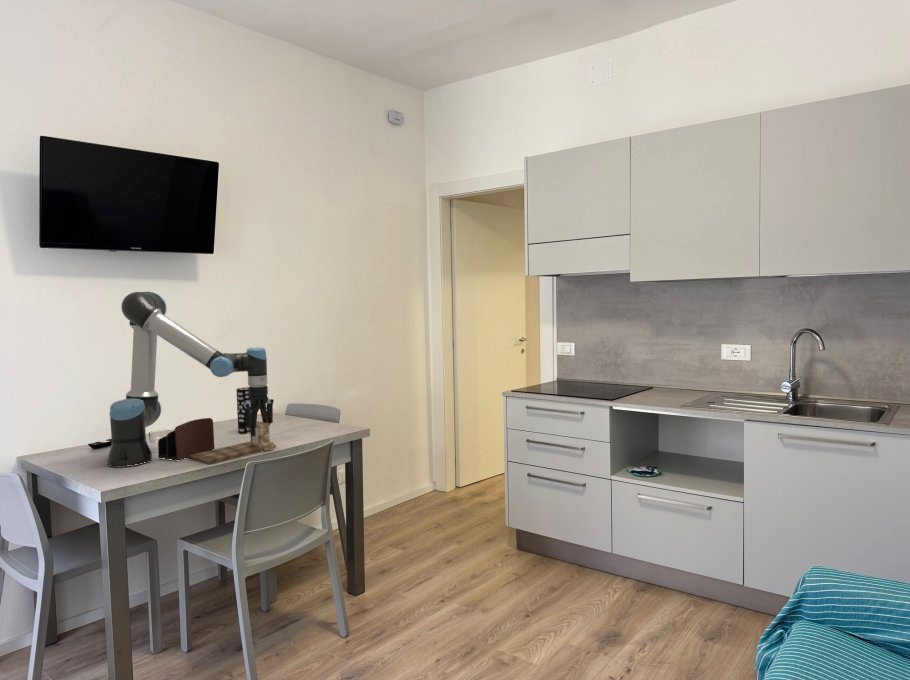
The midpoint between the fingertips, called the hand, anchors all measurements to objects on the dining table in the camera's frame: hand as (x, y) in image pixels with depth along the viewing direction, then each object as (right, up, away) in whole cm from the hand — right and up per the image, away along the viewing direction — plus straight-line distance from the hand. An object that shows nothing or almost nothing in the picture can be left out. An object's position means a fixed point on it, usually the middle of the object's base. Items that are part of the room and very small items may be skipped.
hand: (260, 442), depth 264 cm
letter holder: (-27, -4, -7) cm, 28 cm away
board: (-8, -3, -7) cm, 12 cm away
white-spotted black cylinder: (-16, -1, +33) cm, 37 cm away
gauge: (-1, -2, +1) cm, 3 cm away
